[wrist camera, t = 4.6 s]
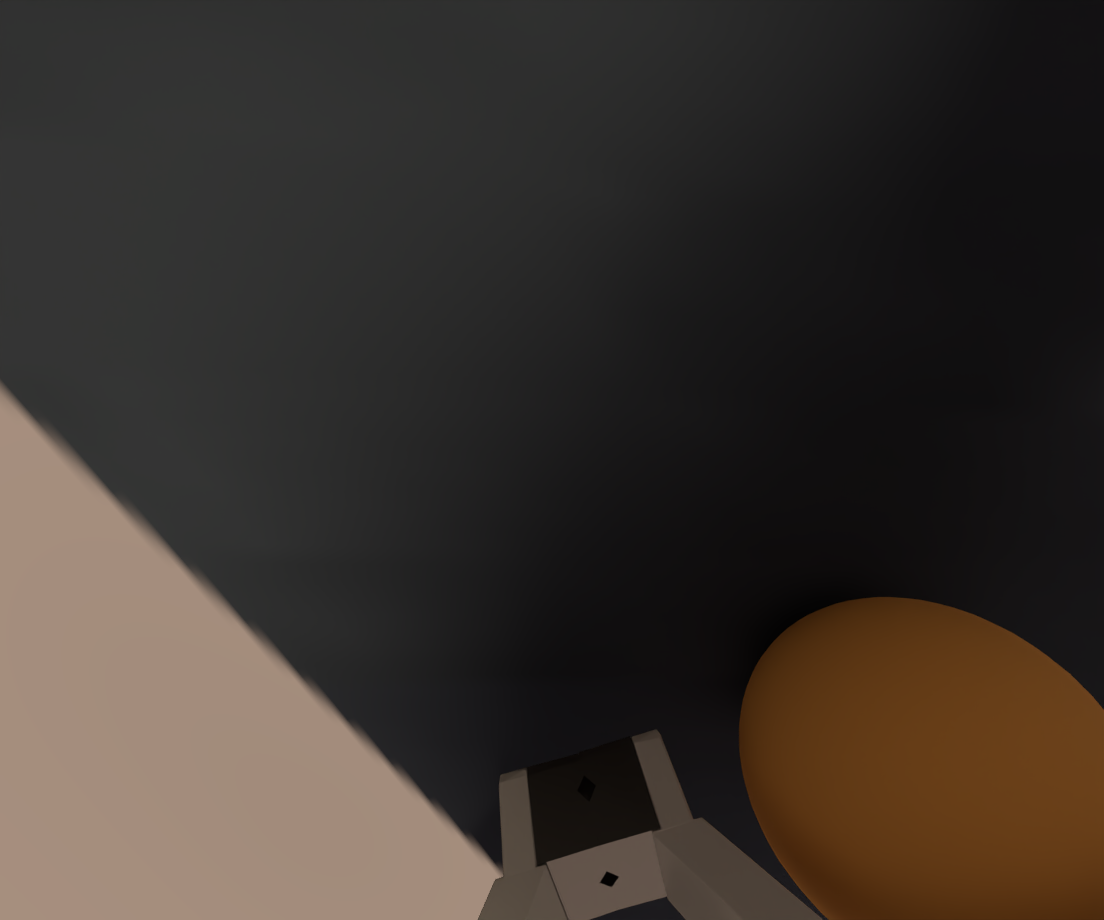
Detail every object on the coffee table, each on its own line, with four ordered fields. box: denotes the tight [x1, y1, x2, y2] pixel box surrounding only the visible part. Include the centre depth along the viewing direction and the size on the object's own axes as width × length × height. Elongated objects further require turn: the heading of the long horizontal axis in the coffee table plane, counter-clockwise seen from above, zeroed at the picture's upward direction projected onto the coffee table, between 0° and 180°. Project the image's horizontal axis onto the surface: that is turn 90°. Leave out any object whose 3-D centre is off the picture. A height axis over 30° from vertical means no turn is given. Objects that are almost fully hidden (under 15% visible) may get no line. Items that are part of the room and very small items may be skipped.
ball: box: [739, 597, 1104, 920], centre depth 9 cm, size 6×6×6 cm
